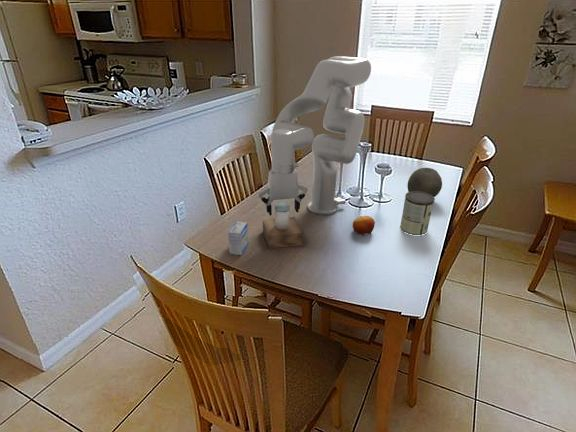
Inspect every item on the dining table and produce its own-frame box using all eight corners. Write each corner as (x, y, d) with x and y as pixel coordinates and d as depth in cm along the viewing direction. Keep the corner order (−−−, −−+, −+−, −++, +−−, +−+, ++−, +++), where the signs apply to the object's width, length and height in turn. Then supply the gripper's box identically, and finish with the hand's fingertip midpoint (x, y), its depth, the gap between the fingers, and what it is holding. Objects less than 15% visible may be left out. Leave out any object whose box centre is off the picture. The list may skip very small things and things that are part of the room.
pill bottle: (287, 221, 137) (287, 202, 133) (290, 228, 132) (291, 208, 129) (273, 223, 136) (273, 203, 132) (276, 230, 131) (276, 210, 127)
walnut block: (293, 228, 143) (294, 216, 140) (301, 244, 132) (302, 232, 130) (262, 231, 140) (262, 219, 138) (268, 248, 130) (268, 236, 128)
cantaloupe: (403, 203, 163) (409, 171, 156) (406, 191, 175) (412, 161, 168) (437, 210, 159) (444, 177, 152) (438, 197, 170) (445, 166, 163)
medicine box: (242, 255, 126) (240, 233, 122) (229, 254, 127) (227, 232, 123) (248, 243, 133) (247, 222, 129) (236, 242, 133) (235, 220, 129)
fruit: (364, 238, 134) (359, 217, 134) (352, 239, 141) (347, 219, 141) (381, 233, 138) (377, 212, 137) (369, 234, 145) (364, 214, 145)
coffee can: (400, 221, 149) (406, 189, 143) (427, 225, 146) (434, 193, 140) (398, 233, 141) (404, 200, 134) (427, 238, 138) (434, 204, 131)
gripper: (305, 161, 128) (304, 204, 137) (255, 165, 125) (257, 209, 134) (311, 169, 122) (309, 214, 131) (259, 173, 119) (260, 220, 127)
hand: (283, 212), depth 132 cm, fingers open, 9 cm apart
